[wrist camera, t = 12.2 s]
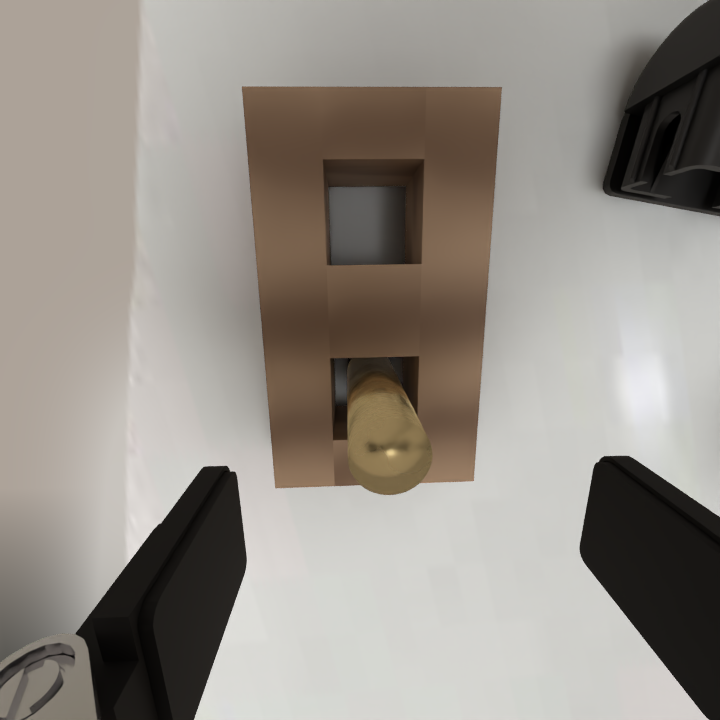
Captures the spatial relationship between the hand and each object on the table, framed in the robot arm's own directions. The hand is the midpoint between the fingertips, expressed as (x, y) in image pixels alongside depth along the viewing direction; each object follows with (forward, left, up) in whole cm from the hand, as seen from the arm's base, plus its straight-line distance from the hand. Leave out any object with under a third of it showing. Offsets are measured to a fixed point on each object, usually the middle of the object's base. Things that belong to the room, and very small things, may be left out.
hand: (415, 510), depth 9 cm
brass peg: (0, 0, -14) cm, 14 cm away
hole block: (-4, 0, -14) cm, 15 cm away
